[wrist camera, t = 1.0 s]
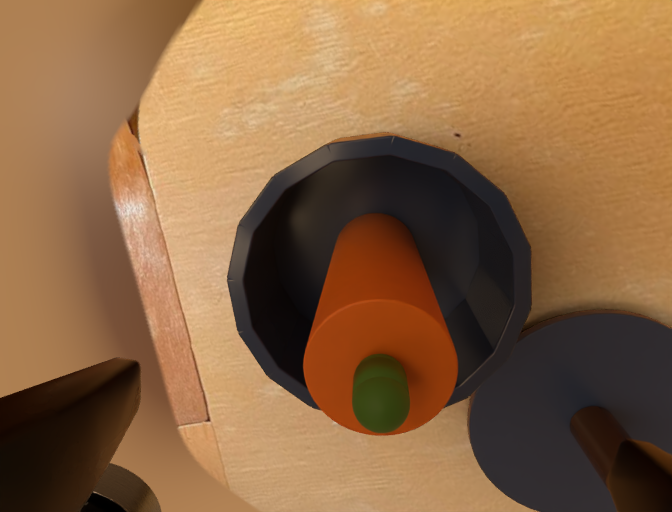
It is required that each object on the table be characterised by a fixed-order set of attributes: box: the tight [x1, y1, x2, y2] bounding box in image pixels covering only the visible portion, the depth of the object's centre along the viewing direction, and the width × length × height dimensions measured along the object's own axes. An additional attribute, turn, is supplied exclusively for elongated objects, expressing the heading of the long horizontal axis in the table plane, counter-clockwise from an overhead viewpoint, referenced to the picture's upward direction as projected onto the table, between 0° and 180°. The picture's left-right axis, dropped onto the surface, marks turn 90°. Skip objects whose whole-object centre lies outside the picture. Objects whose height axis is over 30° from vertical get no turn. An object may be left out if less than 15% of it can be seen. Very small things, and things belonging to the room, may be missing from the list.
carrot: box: [303, 213, 458, 435], centre depth 14 cm, size 4×4×12 cm
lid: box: [467, 310, 672, 512], centre depth 20 cm, size 11×11×5 cm
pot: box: [227, 132, 532, 410], centre depth 18 cm, size 10×10×6 cm
